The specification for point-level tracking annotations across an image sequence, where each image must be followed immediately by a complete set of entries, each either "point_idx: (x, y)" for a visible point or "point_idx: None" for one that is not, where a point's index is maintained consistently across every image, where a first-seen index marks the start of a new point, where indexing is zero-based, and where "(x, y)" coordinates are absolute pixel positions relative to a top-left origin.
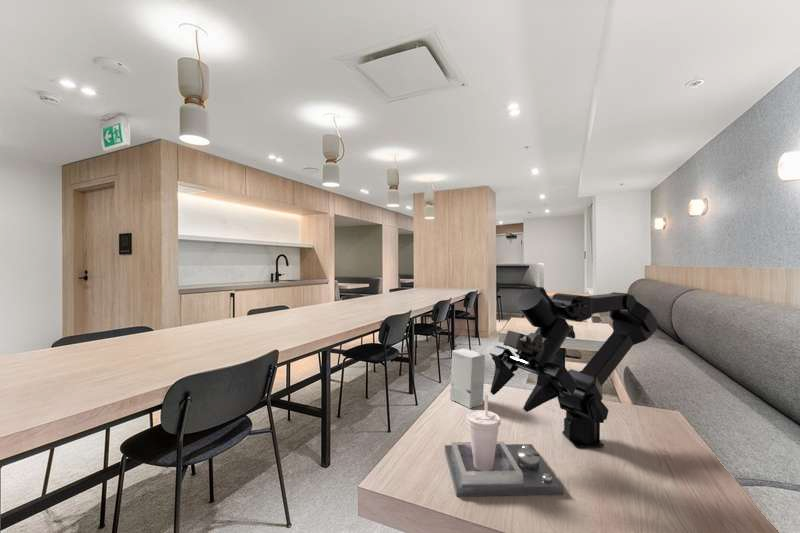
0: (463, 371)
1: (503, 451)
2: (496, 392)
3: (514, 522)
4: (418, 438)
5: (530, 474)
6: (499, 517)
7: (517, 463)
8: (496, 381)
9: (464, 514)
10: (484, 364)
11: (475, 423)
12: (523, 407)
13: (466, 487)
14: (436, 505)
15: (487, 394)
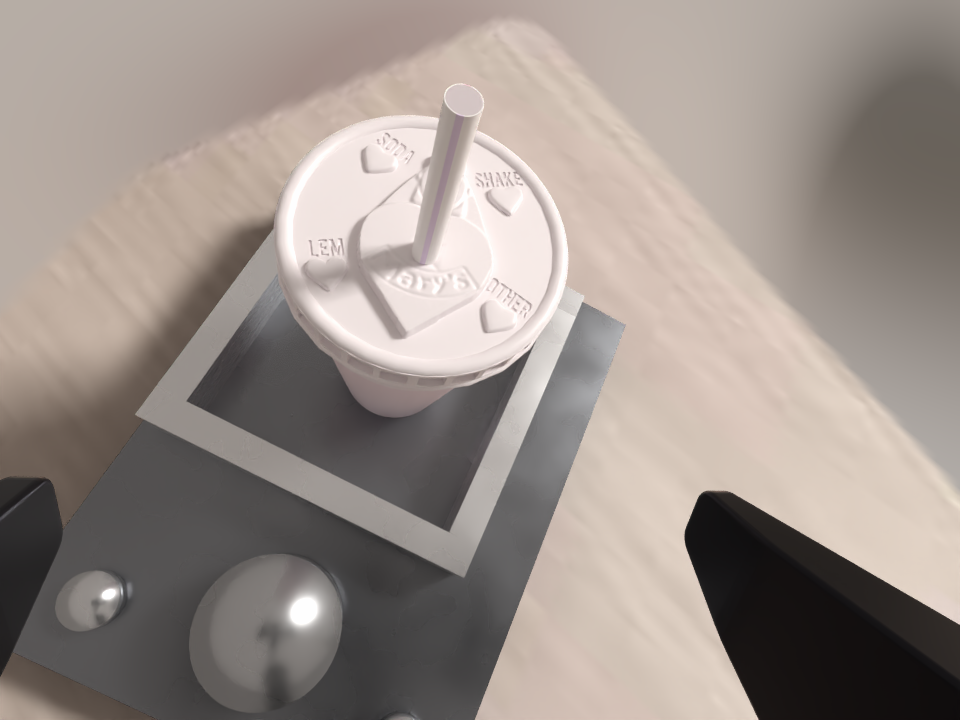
0: None
1: (384, 500)
2: (704, 586)
3: (73, 265)
4: (748, 305)
5: (191, 541)
6: (135, 238)
7: (312, 554)
8: (839, 608)
9: (235, 151)
10: None
11: (381, 121)
12: (32, 477)
13: None
14: (332, 109)
15: (451, 107)
